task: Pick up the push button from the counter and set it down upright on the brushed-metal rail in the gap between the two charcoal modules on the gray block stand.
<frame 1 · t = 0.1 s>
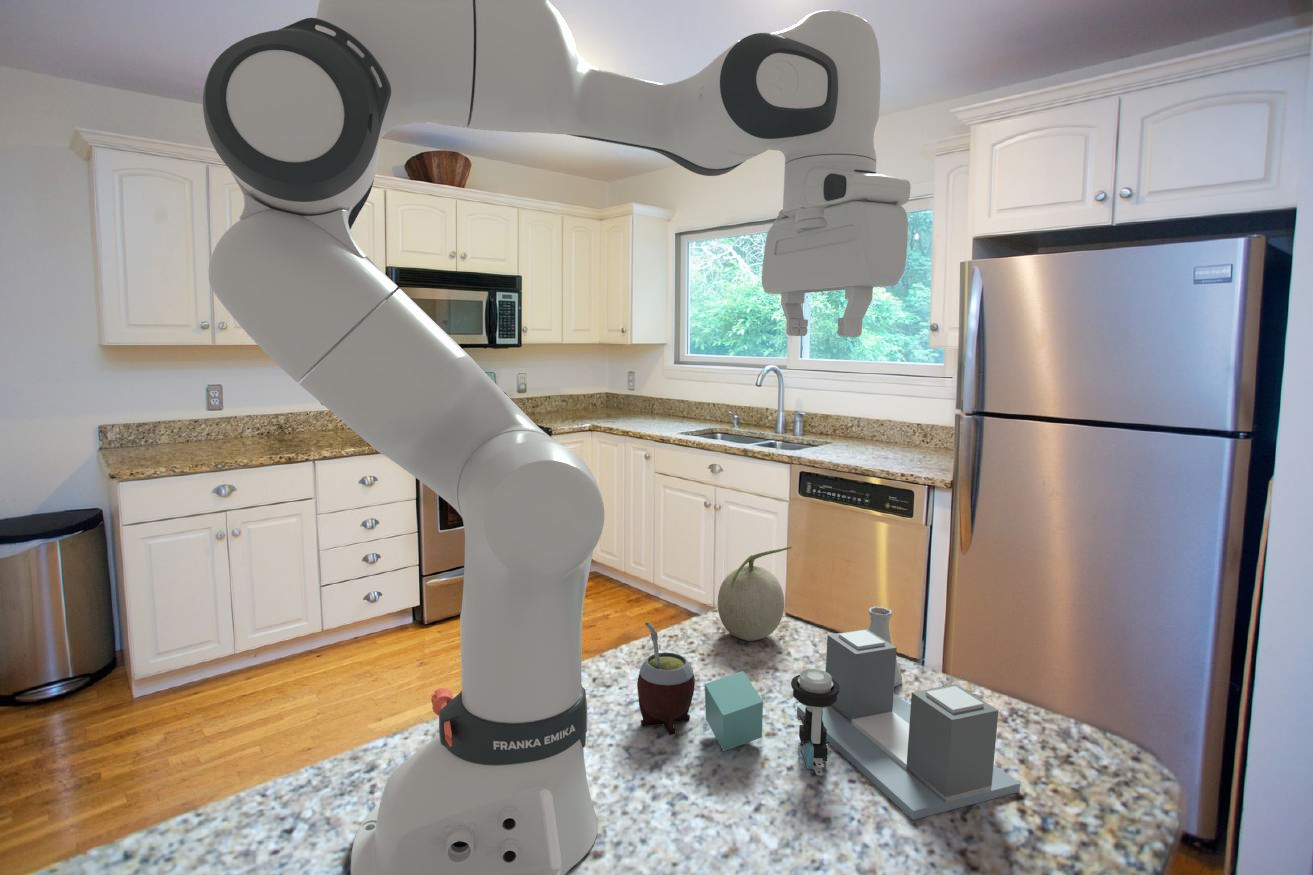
hand: (821, 336, 74), 48 cm above the countertop, fingers open, 8 cm apart
gray block stand: (898, 748, 86), on the countertop
fruit: (748, 639, 117), on the countertop
mate gourd: (664, 725, 90), on the countertop
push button: (812, 763, 83), on the countertop
flask: (876, 679, 104), on the countertop
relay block: (733, 692, 84), point 7 cm above the countertop, tilted 159°
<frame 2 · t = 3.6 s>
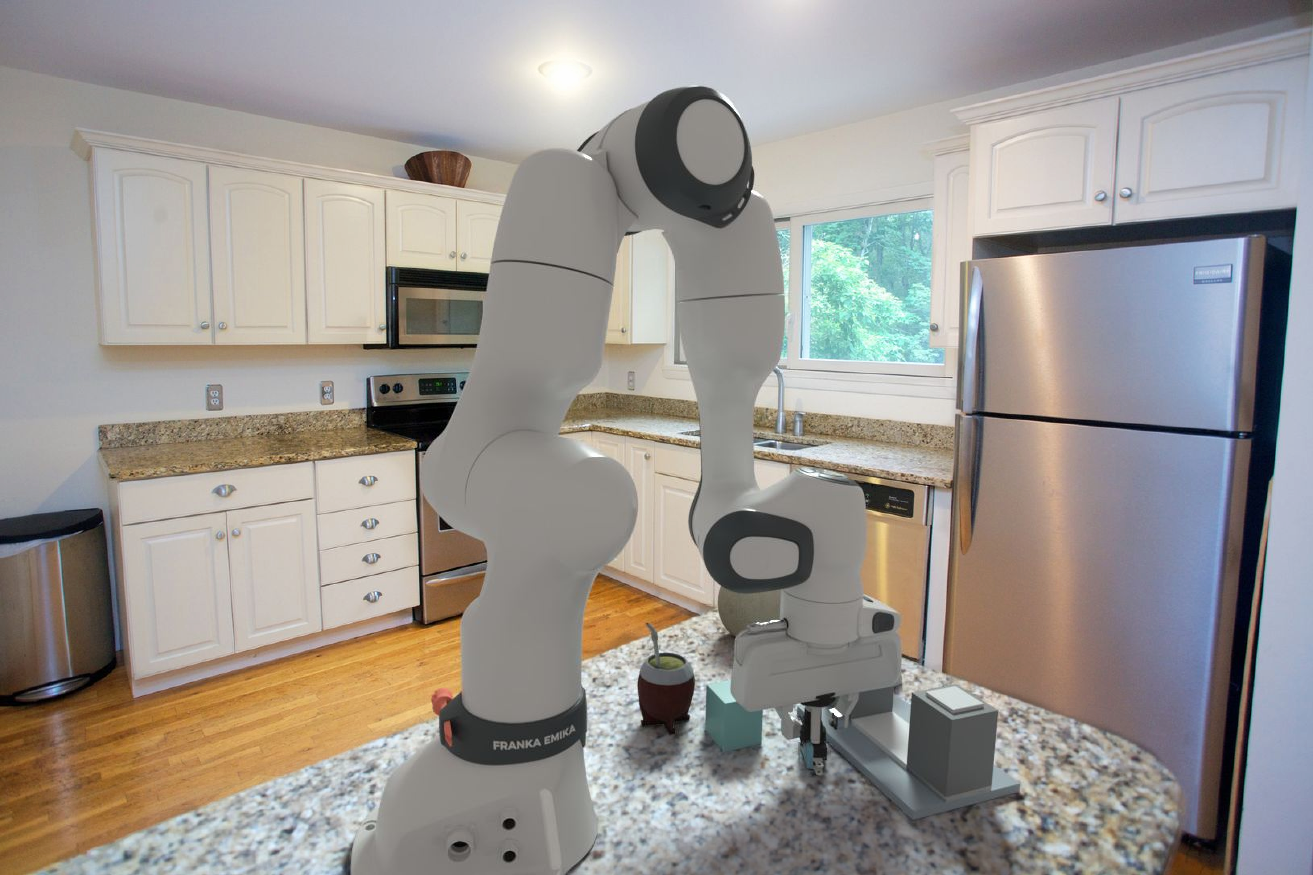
hand: (814, 731, 82), 4 cm above the countertop, fingers closed on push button, 5 cm apart
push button: (812, 763, 83), on the countertop, touching gripper
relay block: (734, 690, 87), point 6 cm above the countertop, tilted 180°
everything else where it was.
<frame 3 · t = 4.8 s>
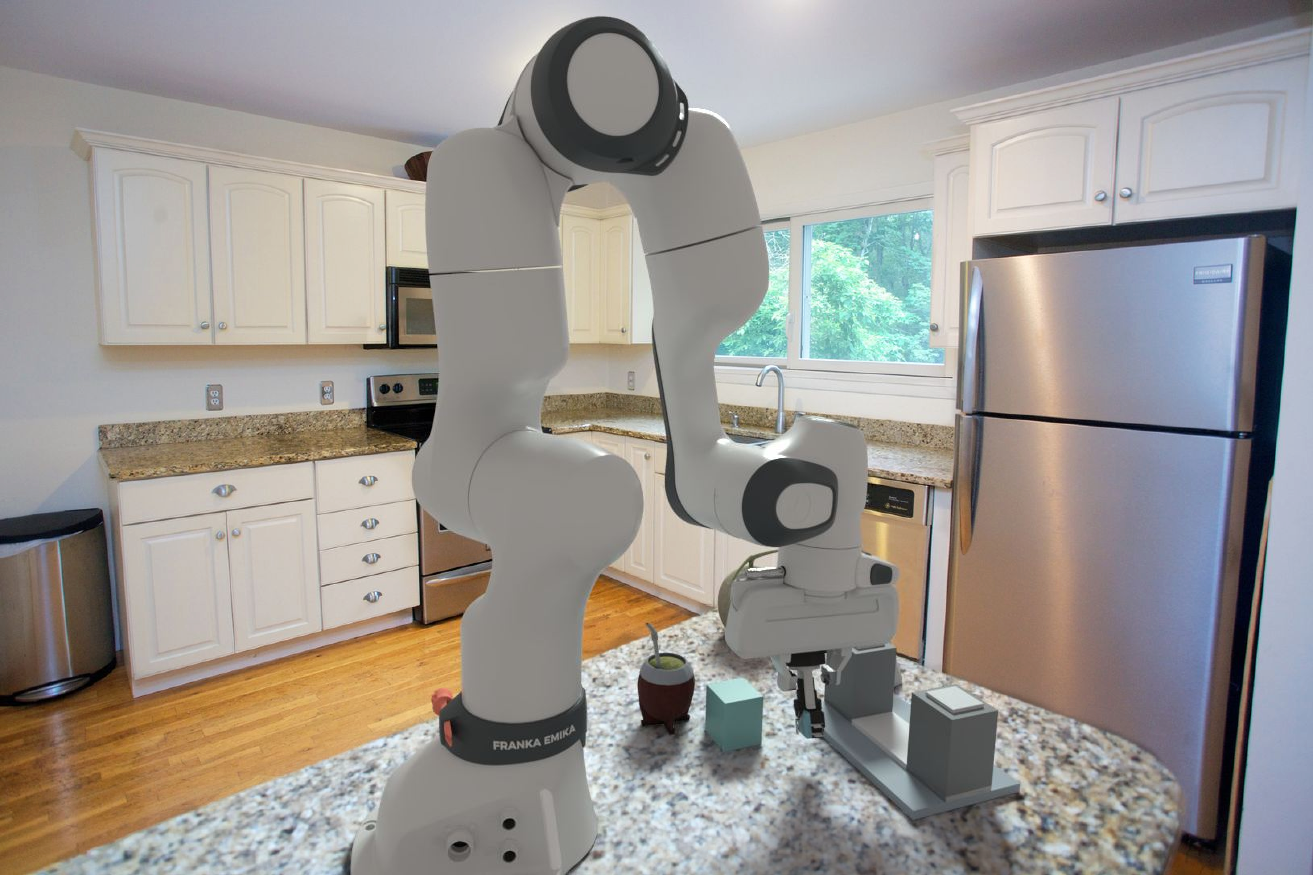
hand: (808, 686, 81), 9 cm above the countertop, fingers closed on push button, 4 cm apart
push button: (812, 737, 80), point 4 cm above the countertop, touching gripper
everything else where it was.
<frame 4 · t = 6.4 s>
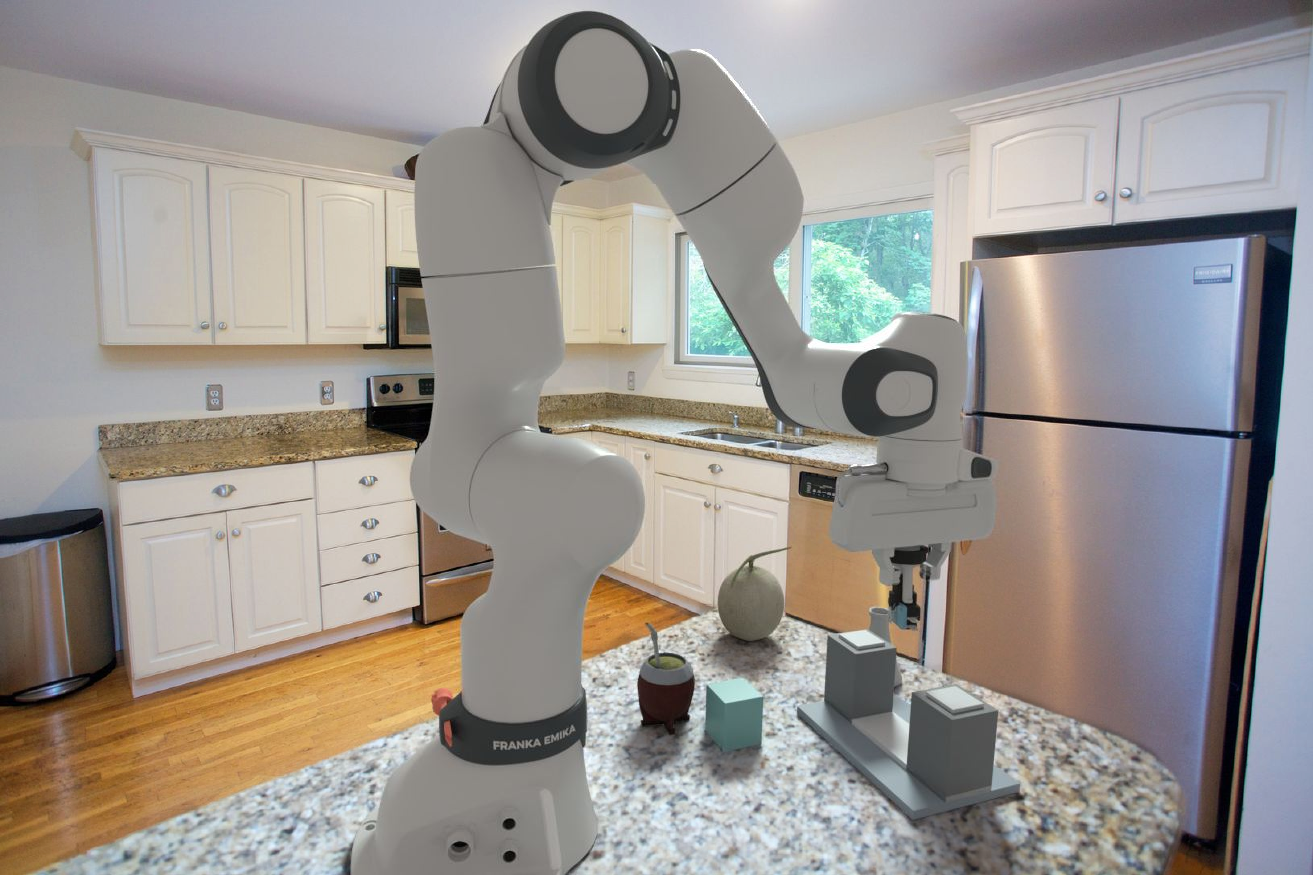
hand: (909, 581, 83), 20 cm above the countertop, fingers closed on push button, 4 cm apart
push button: (904, 627, 84), point 15 cm above the countertop, touching gripper
everything else where it was.
when the fingers open (7 cm above the countertop, at t = 9.1 s): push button stays where it is, resting on gray block stand.
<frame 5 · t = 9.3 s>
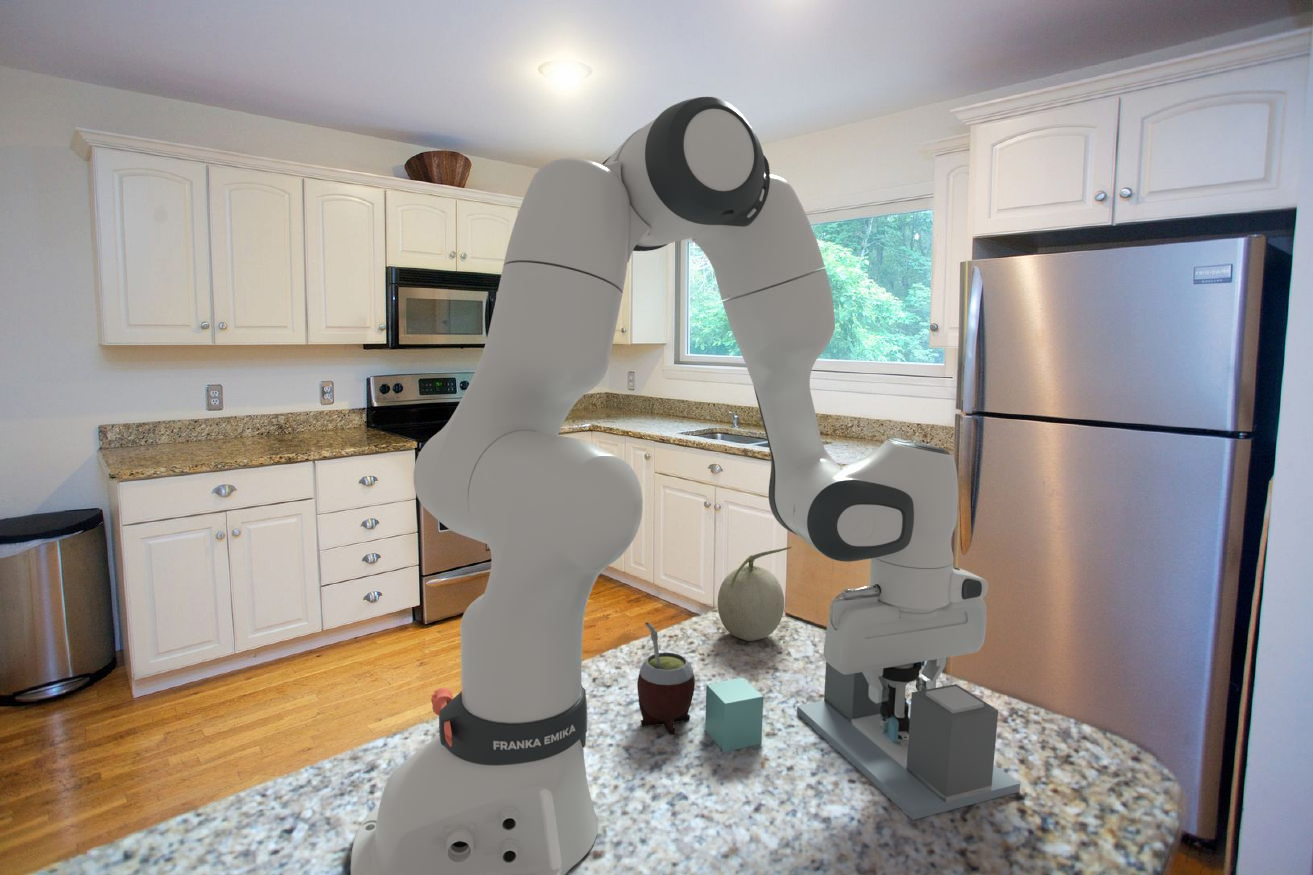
hand: (901, 695, 85), 7 cm above the countertop, fingers open, 5 cm apart
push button: (895, 737, 86), point 1 cm above the countertop, touching gray block stand
everything else where it was.
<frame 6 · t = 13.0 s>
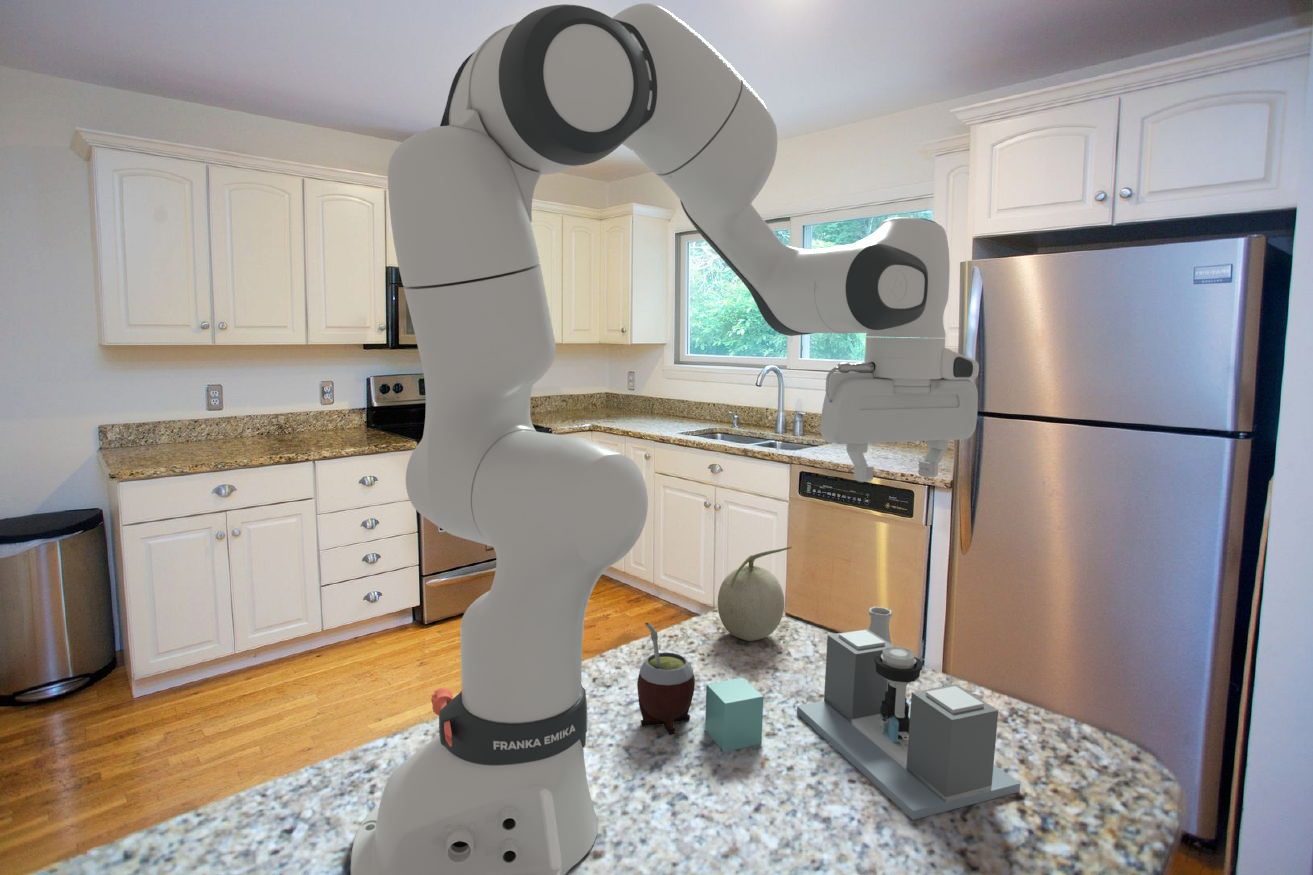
hand: (895, 478, 88), 31 cm above the countertop, fingers open, 8 cm apart
nothing on the countertop moved.
at the end: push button inside the target area on the gray block stand (0.4 cm from its centre), point 1.4 cm above the gray block stand's base; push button tilted 0°; the gripper is holding nothing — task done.
